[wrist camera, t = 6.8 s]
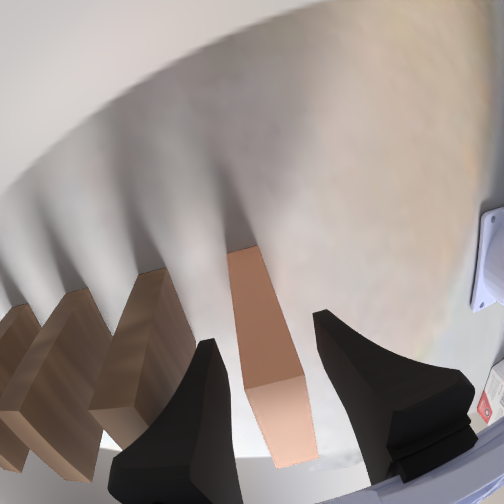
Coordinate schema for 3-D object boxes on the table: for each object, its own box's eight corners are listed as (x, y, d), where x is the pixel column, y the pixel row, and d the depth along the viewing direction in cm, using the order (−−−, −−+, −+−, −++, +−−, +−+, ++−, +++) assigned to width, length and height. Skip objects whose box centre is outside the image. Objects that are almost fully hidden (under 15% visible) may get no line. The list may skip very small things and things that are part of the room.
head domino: (258, 245, 16) (304, 374, 8) (276, 324, 18) (319, 458, 10) (226, 253, 16) (244, 389, 8) (249, 331, 18) (277, 468, 10)
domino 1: (28, 303, 16) (-44, 406, 7) (64, 365, 18) (21, 473, 9) (12, 307, 16) (-59, 404, 7) (48, 367, 18) (3, 469, 9)
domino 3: (166, 267, 16) (133, 406, 8) (195, 342, 18) (194, 481, 10) (138, 274, 16) (88, 410, 8) (170, 347, 18) (157, 483, 10)
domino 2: (87, 287, 16) (18, 411, 7) (123, 356, 18) (92, 482, 9) (65, 293, 16) (-7, 410, 7) (102, 359, 18) (65, 480, 9)
